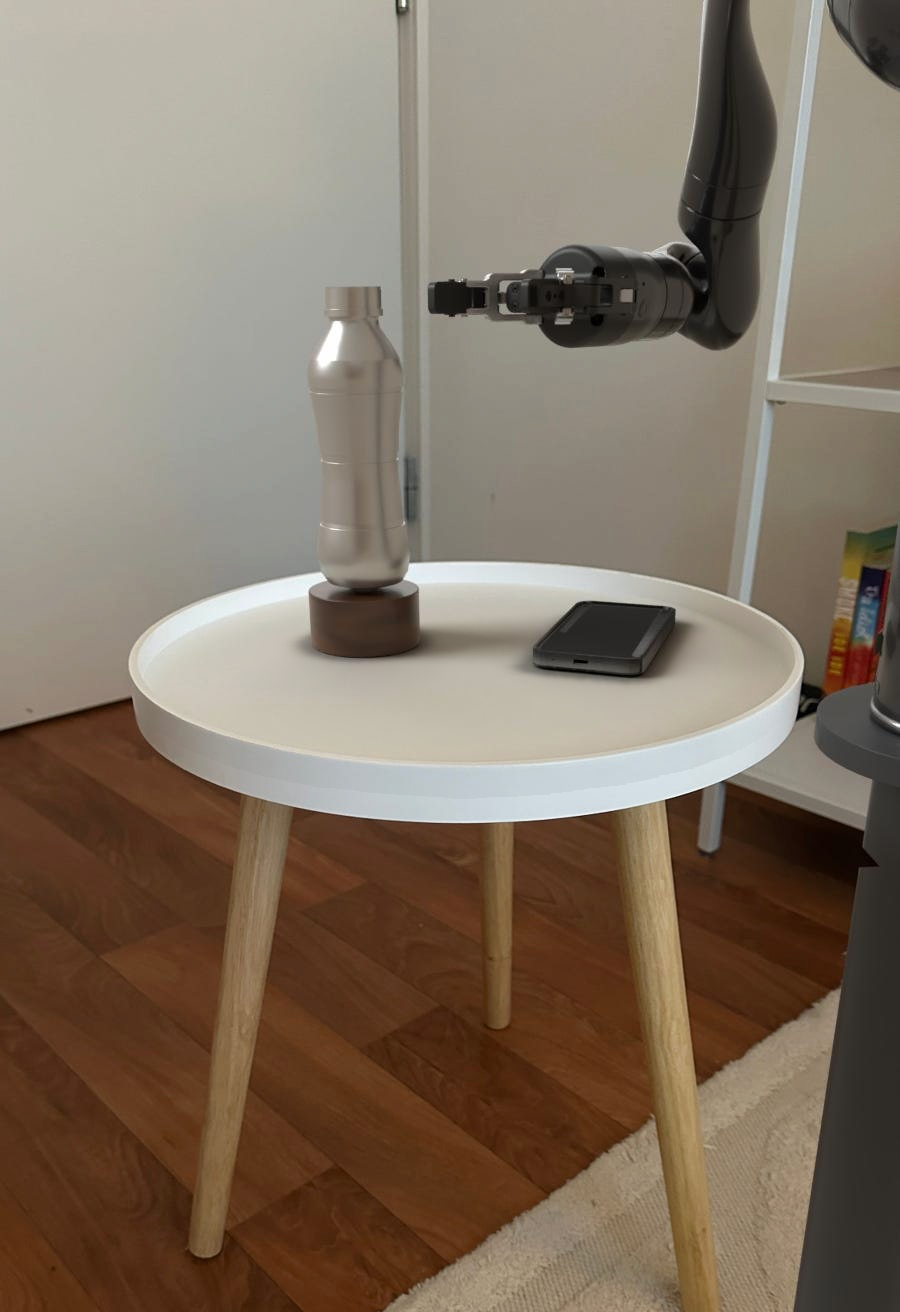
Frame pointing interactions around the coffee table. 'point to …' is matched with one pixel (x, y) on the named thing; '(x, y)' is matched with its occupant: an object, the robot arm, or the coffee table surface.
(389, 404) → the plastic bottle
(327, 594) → the cylinder
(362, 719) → the coffee table surface
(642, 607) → the phone
